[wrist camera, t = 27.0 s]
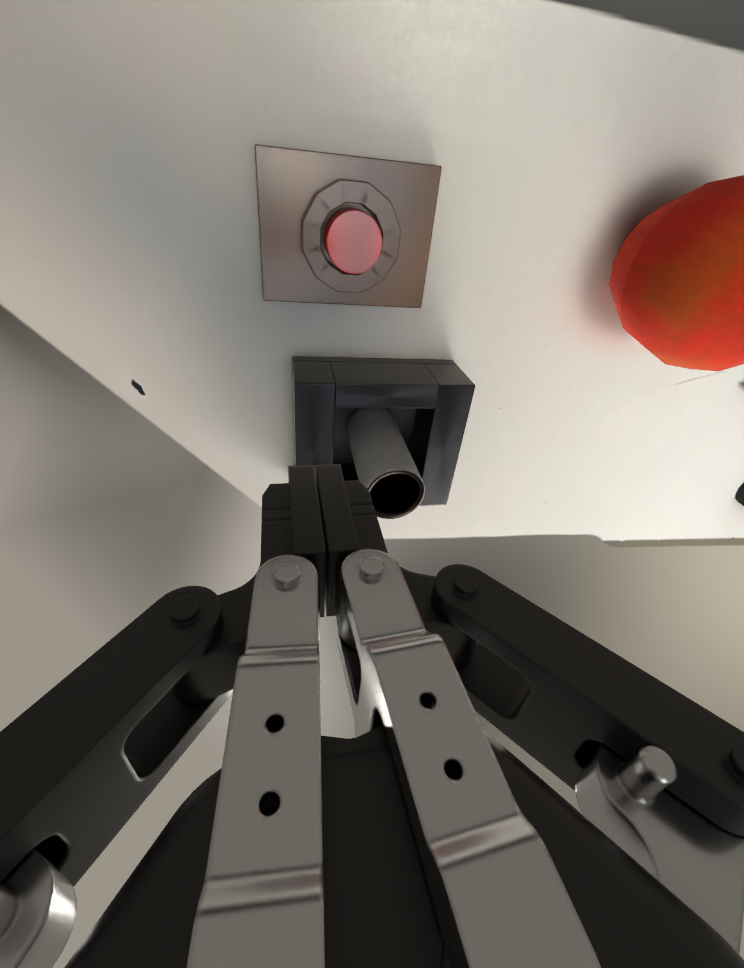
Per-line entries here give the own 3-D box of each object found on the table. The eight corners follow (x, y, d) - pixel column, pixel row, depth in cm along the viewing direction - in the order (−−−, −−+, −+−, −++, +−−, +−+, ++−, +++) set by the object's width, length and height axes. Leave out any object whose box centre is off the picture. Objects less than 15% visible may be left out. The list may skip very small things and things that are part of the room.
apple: (564, 343, 39) (679, 415, 28) (586, 184, 32) (752, 196, 21) (691, 316, 40) (852, 376, 29) (741, 155, 33) (983, 151, 21)
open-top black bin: (294, 475, 42) (296, 511, 38) (292, 356, 35) (294, 383, 31) (430, 472, 45) (446, 504, 41) (453, 359, 38) (475, 385, 34)
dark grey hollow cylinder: (404, 423, 40) (437, 490, 32) (371, 456, 41) (395, 528, 33) (369, 395, 38) (395, 459, 29) (335, 431, 39) (351, 502, 31)
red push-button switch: (263, 296, 32) (262, 307, 30) (255, 145, 27) (253, 143, 25) (417, 304, 35) (427, 314, 32) (436, 166, 30) (450, 166, 27)
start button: (323, 267, 30) (326, 272, 28) (324, 205, 28) (327, 207, 26) (375, 270, 30) (379, 275, 29) (380, 210, 28) (385, 212, 27)
